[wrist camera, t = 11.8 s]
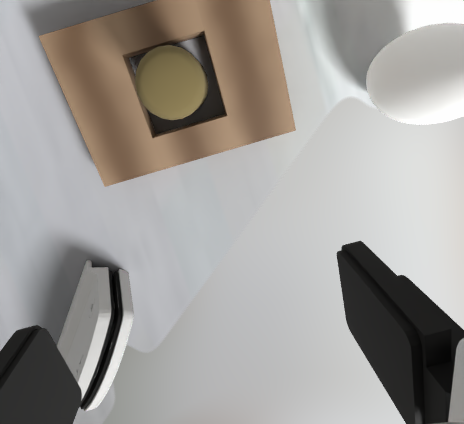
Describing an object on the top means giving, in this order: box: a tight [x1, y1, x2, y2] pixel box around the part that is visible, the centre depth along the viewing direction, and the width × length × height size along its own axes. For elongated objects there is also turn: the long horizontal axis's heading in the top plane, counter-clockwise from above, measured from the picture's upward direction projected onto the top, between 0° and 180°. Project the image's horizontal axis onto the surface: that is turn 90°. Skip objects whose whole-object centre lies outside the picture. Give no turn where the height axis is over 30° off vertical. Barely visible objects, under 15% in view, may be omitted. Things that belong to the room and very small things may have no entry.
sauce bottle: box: [366, 23, 464, 125], centre depth 27 cm, size 8×8×18 cm
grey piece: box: [57, 260, 134, 411], centre depth 39 cm, size 17×5×10 cm, turn 156°
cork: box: [135, 45, 209, 120], centre depth 28 cm, size 6×6×11 cm
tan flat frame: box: [39, 0, 296, 187], centre depth 32 cm, size 20×14×3 cm
